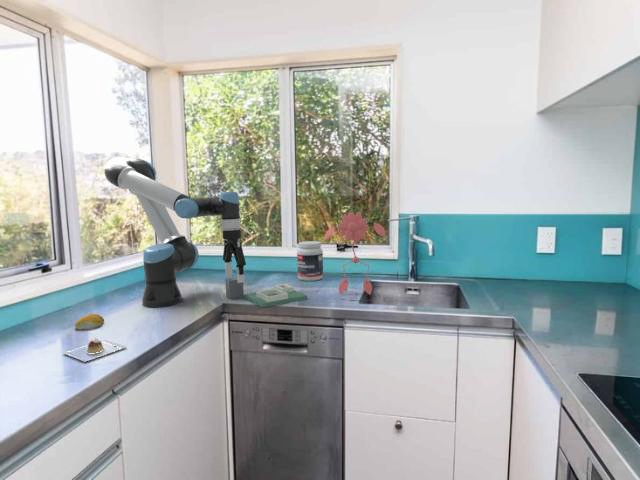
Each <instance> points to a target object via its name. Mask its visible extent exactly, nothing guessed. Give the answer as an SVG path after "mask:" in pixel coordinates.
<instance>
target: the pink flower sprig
mask: <svg viewBox="0 0 640 480" xmlns="http://www.w3.org/2000/svg"><path fill="white" fill-rule="evenodd" d="M341 219H342V221H340V222H339V224H338V226H337V227H338V228H340V230H339V231H338V229H336V226H332V227H330V228H329V229H328V230H327V231H326V232H325V235H324V241H327V240H328V239H330V238H331V237H332V235H333V234H334V233H335V232H336V233H337V234H338V236H339V237H340V238H341V240H342V241H343V242H344V243H345V242H350V241H352V240H353V242H352V244H351V248H352V253H353V255H354V257H353V258H352V260H351V261H349V262H347V263H344V264H342V268H343V275H344V276H343V279H342V280H341V281H340V282H339V286H338V293H339V295H341V294H343V293H344V292H348V287H349V280H348V279H347V278H346V272H345V265H348V264H350V263H353V264H357V263H360V264H362V265H365V266H367V273H366V279H365V280H363V285H362V288H363V290H364V291H365V292H366V293H367V295H369V296H371V293H372V291H373V284H372V282H371V281H370V280H368V279H369V270H370V269H369V267H370V266H369V264H367V263H365V262H362V261H360V259H359V257H358V256H357V255H356V252H355V248H354V245H355V243H359V241H360V240H364V241H371V239H372V237H373V235H374V231H375V232H376V233H377V234H378V235H379V236H381V237H383V238H386V230H385V228H384V227H383V225H381V224H380V223H378V222H374V225H373V227H372V231H371V234H370V237H369V238H366V236H367V233H366V232H367V231H369V229H370V226H369V225H368V224H367V218H366V217H363V215H362V212H360V211H357V212H356V213H355V214H354V213H353V212H351V211H350V212H348V213H347V214H343V215H341ZM343 236H344V238H345V239H344V238H343ZM332 291H334V289H333V290H332ZM341 300H343V301H345V299H343V298H341ZM372 300H373V298H370V299H369V301H372ZM374 300H377V297H375V298H374ZM350 301H352V302H357V301H358V302H359V301H361V302H362V301H363V302H364V299H363V300H361V299H359V300H356V299H353V300H352V299H350ZM365 301H368V299H365Z"/></svg>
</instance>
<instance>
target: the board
mask: <svg viewBox="0 0 640 480" xmlns="http://www.w3.org/2000/svg"><path fill="white" fill-rule="evenodd" d="M243 299H246V300H248V301H250V302H251V303H253V304H256V305H257V306H258V307H261V308H266V307H267V308H268V307H271V306H277V305H278V306H279V305H283V304H288V303H294V302H298V301H303V300H307V299H308V295H307V294H304V293H302V292H301V291H297V290H294V286H292V285H289V284H286V283H280V284H274V287H273V288H269V289H263V290H258V291H255V292H249V293H244V298H243Z"/></svg>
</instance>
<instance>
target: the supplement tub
mask: <svg viewBox="0 0 640 480" xmlns="http://www.w3.org/2000/svg"><path fill="white" fill-rule="evenodd" d="M298 247H299V248H298V249H297V251H296V256H297V257H296V258H297V260H296V261H297V264H296V265H297V278H298V280H301V281H304V282H315V281H320V280H322V279H323V277H324V258H323V257H324V256H323V254H324V251H323V249H322V242H321V241H319V240H318V241H316V240H315V241H312V240H311V241H309V240H307V241H306V240H305V241H300V242H298Z"/></svg>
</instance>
